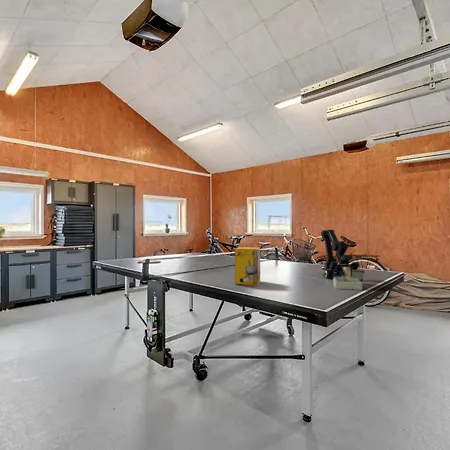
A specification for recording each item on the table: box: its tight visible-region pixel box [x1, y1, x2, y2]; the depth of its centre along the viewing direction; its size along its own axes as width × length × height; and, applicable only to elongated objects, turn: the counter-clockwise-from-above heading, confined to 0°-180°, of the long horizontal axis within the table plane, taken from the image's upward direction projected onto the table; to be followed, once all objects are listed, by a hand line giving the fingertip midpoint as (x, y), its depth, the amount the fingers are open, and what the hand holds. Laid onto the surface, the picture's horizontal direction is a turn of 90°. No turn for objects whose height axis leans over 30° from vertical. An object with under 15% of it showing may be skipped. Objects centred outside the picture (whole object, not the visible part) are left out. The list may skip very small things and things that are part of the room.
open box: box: [332, 277, 363, 291], centre depth 201 cm, size 16×16×4 cm
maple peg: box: [343, 267, 351, 282], centre depth 201 cm, size 4×4×12 cm
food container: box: [351, 268, 365, 284], centre depth 213 cm, size 12×6×10 cm, turn 74°
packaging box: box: [234, 246, 261, 286], centre depth 214 cm, size 16×16×25 cm
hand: (347, 276), depth 199 cm, fingers closed on maple peg, 4 cm apart
